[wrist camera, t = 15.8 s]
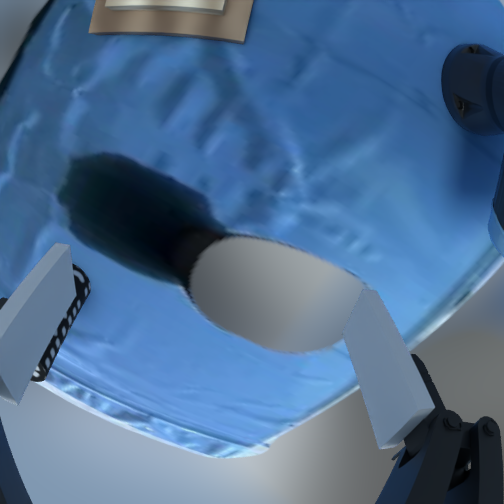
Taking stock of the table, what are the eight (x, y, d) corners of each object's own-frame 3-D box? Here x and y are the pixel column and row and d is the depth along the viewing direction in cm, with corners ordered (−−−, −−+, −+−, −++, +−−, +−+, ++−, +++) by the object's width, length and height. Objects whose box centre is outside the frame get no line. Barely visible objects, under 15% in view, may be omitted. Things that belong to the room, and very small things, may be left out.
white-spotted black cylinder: (48, 259, 48) (-9, 334, 31) (87, 265, 49) (36, 349, 32) (56, 295, 52) (10, 373, 35) (93, 303, 53) (53, 387, 36)
